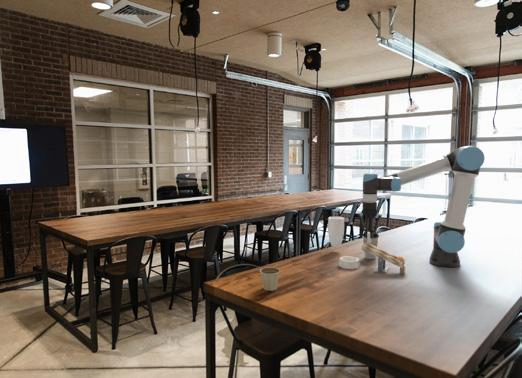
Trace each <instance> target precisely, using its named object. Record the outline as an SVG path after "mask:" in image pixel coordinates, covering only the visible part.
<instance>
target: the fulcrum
mask: <svg viewBox="0 0 522 378" xmlns="http://www.w3.org/2000/svg"><path fill="white" fill-rule="evenodd" d="M389 269H390V266H388V265H386V260H384V259H383V258H379V257H377V265H376V267H375V269H374V270H373V274H375V273H376V274H383V275H387V273H388V271H389ZM405 273H406V265H404V266H403V268H401V267H399V275H403V276H404V275H405Z"/></svg>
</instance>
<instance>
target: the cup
mask: <svg viewBox="0 0 522 378" xmlns="http://www.w3.org/2000/svg"><path fill="white" fill-rule="evenodd" d="M327 229H328V230H327V231H328V238H329V242H330V244H331V247H332V248H333V249H339V248H340V247H341V245H342V242H343V241H344V240H343V239H344V235H345V217H342V216H329V217H328V221H327Z"/></svg>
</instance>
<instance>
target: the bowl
mask: <svg viewBox="0 0 522 378" xmlns="http://www.w3.org/2000/svg"><path fill="white" fill-rule="evenodd" d="M338 261H339V262H338V263H339V265H338V266H339V267H341V268H342V269H347V270H354V269H355V270H356V269H359V267H360V258H358V257H356V256H349V255H348V256H347V255H346V256H341V257H340V258H339V259H338Z"/></svg>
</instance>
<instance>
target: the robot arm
mask: <svg viewBox="0 0 522 378" xmlns="http://www.w3.org/2000/svg"><path fill="white" fill-rule="evenodd" d="M484 163H485V153H484V152H483V151H482V149H480V147H477V146H474V145H466V146H465V145H463V146H461V147H460V146H459V147H458V148H456V149H455V150H454V149H453V150H452V151H450V152H448V153H445V154H443V156H441V157H438V158H436V159H432V160H430V161H427V162H425V163H422V164H421V163H420V164H418V165H415V166H413V167H409V168H407V169H404V170H401V171H399V172H396V173H392V174H390V175H388V174H387V175H385V176H384V177H382V176H379V174H378V173H375V172H373V173H372V172H369V173H368V172H365V173H364V174H363V177H362V201H363V202H362V209H361V211H360V212H359V213H357V217H358V219H359V223H360V227H361V231H362V232H363V233H364V232H365V238H367V243H368V244H371V239H372V238H373V232H377V231H378V227H379V223H380V219H381V218H382V216H383V215H382V214H380V213H379V212H378V202H377V201H378V192H401V189H402V186H404V185H407V184H409V183H413V182H416V181H418V180H422V179H426V178H428V177H431V176H434V175H437V174H438V175H439V174H440V173H443V172H446V171H449V172H452V173H453V174H454V178H453V181H452V185H451V190H450V196H449V199H448V204H447V209H446V213H445V217H444V220H443V221H435V222H434V224H433V244H432V245H433V246H432V247H433V249H432V251H431V253H430V256H429V260H428V261H429V263H430V264H431V265H434V266H437V267H443V268H457V267H460V266H461V259H460V257H459V253H458V252H460V251H461V250H462V249H463V248H464V247H465V244H466V243H465V233H466V229H467V228H466V227H465V225H464V224H465V223H464V222H465V218H466V214H467V210H468V205H469V201H470V197H471V193H472V189H473V184H474V179H475V178H477V177H478V176H479V174H480V169H481V167H482V166H483V164H484ZM363 217H364V218H365V222H364V218H363ZM375 217H376V221H375V225H374V218H375ZM369 222H370V223H369ZM368 231H370V232H368Z"/></svg>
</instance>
